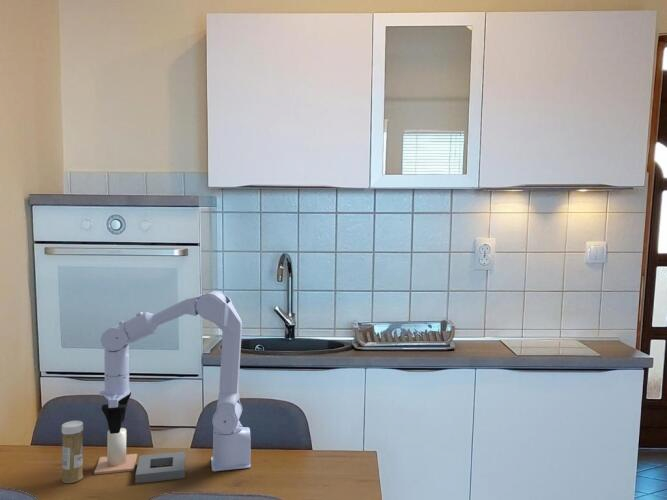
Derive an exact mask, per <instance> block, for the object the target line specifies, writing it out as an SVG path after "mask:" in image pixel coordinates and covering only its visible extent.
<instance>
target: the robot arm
mask: <svg viewBox="0 0 667 500" xmlns="http://www.w3.org/2000/svg"><path fill="white" fill-rule="evenodd" d="M185 315H188V316H189V315H190V316H192V317H193V316H194V317H196V316H198V315H199V316H200V317H201V318H203V319H205V320H207V321H209V322H212V323H213V324H215V326H217V327H218V328H219V329H220V330H221V331H222V336H221V352H220V353H221V355H220V370H219V371H220V372H219V393H218V398H217V402H216V403H217V404H216V410H215V412H214V414H213V416H212V422H211V423H212V426H213V429H212V438H213V439H212V456H211V457H210V466H211V471H212V472H220V471H222V472H223V471H230V470H238V469H239V470H240V469H249V468H250V469H251V463H252V462H251V456H252V450H251V447H252V446H251V445H252V444H251V443H252V440H251V429H250V427H248V426H245V427H244V426H243V424H242V423H241V421H240V417H241V416H242V413H243V406H242V403H241V401H240V400H241V399H240V392H239V388H240V386H239V385H240V367H241V350H242V349H241V348H242V334H243V333H242V331H243V322H242V319H241V317H240V315H239V314H238V312H237V310H236V308H235V306H234V304H233V302H232V299H231V298H230V297H229V296H228V295H226V294H225V293H224V292H223V291H221V290H219V289H213V290H211V291H209V292H207V293H200V294H197V295H194V296H190V297H188V298H186V299H184V300H182V301H181V300H180V301H179V302H177V303H175V304H173V305H171V306H169V307H166V308H164V309H163V310H161V311H158V312H157V313H151V312H148V311H145V312H143V311H139V312H138V313H135V316H134V317H132V318H130V319H127V320H126V321H125V320H120V321H119V322H118V324H117V325H114V326H112V327H111V326H110V327H108V329H106V330H105V331H104V332H103V333H102V334H101V337H100V343H101V346H102V347H103V349H104V390H101V391H99V396H100V397H105V399H106V400H107V402H108V403H107V404H102V406H101V411H102V412H103V414H104V417H105V419H106V423H107V428H108V431H110V434H114V433H119V432H120V429H121V428H122V423H124V421H125V417H126V412H127V411H126V410H127V406H128V402H129V399H130V398H131V395H132V392H131V389H130V352H129V351H130V346H129V345H130V344H134V343H135V342H138V341H141V340H143V339H144V338H147V337H149V336H151V335H154V334H156V333H157V331H158V330H159V327H160V326H161V325H163V324H166V323H168V322H170V321H173V320H176V319H178V318H180V317H183V316H185Z"/></svg>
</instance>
